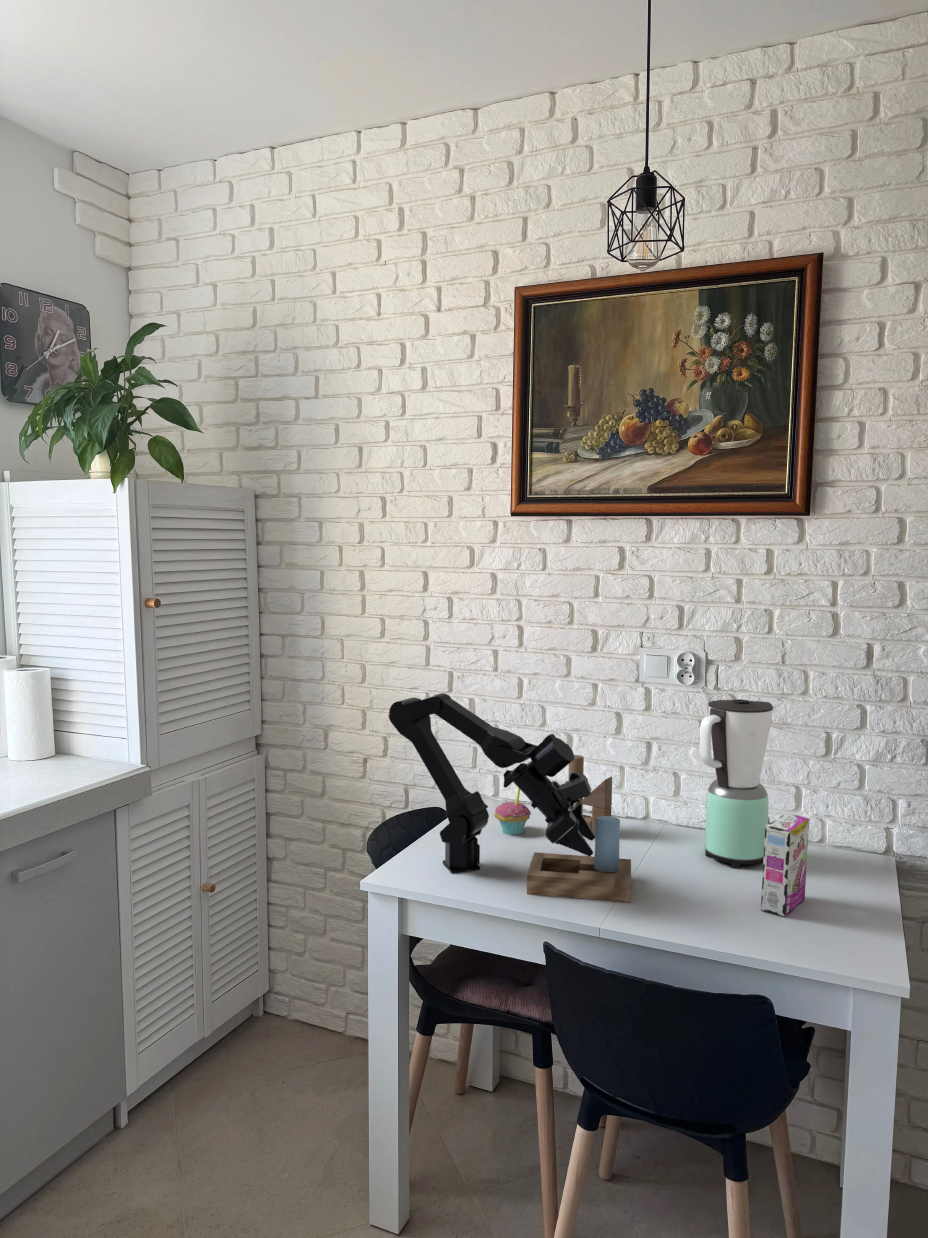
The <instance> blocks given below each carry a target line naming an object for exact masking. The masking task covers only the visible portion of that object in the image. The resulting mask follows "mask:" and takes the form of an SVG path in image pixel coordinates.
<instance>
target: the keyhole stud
mask: <svg viewBox="0 0 928 1238" xmlns="http://www.w3.org/2000/svg"><path fill="white" fill-rule="evenodd" d="M620 830H621V820H620V819H619V818H618V817H616V816H612V815H611V816H600V817H597V818H596V824H595V839H594V857H595V864H594V867H595V869H596V870H598V871H599V872H609V873H614V872H615V871H618V870H619V858H620V839H621V838H620V837H621V836H620V834H621V833H620V832H621V831H620Z"/></svg>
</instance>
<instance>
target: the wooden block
mask: <svg viewBox="0 0 928 1238" xmlns="http://www.w3.org/2000/svg"><path fill="white" fill-rule="evenodd" d="M584 759H585V757H584V755H579V754H574V760H573V761H572V762H571V763H569V764H568V777H567V778H568V779H567V781H569V780H570V774H571V773H573V772H576V771H577V772H578V773H579V774H581V775H584V772H585V771H584V765H585V764H584V763H585V761H584ZM612 800H613V776H612V775H611V776H609V777H608V778H605V779H603V781H602V782H601V783H599V784H598V785H597V786H596V787H595V788H594V789H592V790H591V795H589V796H588V797H585V798H584V797H582V798H581V799H580V801H582V814H583V816H584V818H585V820H586V821H587V823H588V825H589V827H590V829H591V830H592V832H593V834H594V836H595V824H596V818H597V817H600V816H611V817H612V804H613V803H612V802H613V801H612ZM580 801H579V802H580ZM579 802H577V801H576V802H575V804H578V803H579ZM584 806H589V807H591V815H587V814H584Z"/></svg>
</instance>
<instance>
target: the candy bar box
mask: <svg viewBox="0 0 928 1238" xmlns="http://www.w3.org/2000/svg"><path fill="white" fill-rule="evenodd" d="M809 825H810V818H809V817H804V816H800V815H797V814H796V815H795V814H789V813H784V814H782V815H781V816H779V817H778V818H776V819H774V820H773V821H770V823H769V824H768V825H766V826H765V838H764V857H763V858H764V859H763V863H762V864H763V865H762V866H763V867H762V880H761V881H762V883H761V901H760V902H761V903H760V911H763V912H766V913H769V914H772V915H776V916H779V917H785V918H786V917H787V916H788V915H789V914H790V913H791V912H792V911H793V910H794V909H796V908H797V907H798V906H799V904H801V903H802V902H804V900H805V899H806V898H805V897H806V884H807V883H806V882H807V877H806V876H807V867H808V866H807V864H808V862H807V860H808V849H809V848H808V847H809V846H808V844H809V827H810V826H809Z"/></svg>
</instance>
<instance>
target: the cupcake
mask: <svg viewBox="0 0 928 1238" xmlns="http://www.w3.org/2000/svg"><path fill="white" fill-rule="evenodd" d="M520 796H521V790H520V789H519V788H518V787H517V790H516V796H515V797H516V798H515V801H508V802H507V801H506V802H502V803H500V804H499V805H497V806H496V808H495V810H494V818H495V819H497V820H498V821H499V824H500V826H501V829H502V833H504V834H506V835H510V836H512V835H513V836H515V835H516V836H517V835H521V834H522V833H523V832H524V828H525V826H526V823H527V821H528V820H529V819H530V816H531V815H532V812H531V810H530V809H529V807H527V806H526V805H525V804H523V803H521V802H520V801H519V800H520Z"/></svg>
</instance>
